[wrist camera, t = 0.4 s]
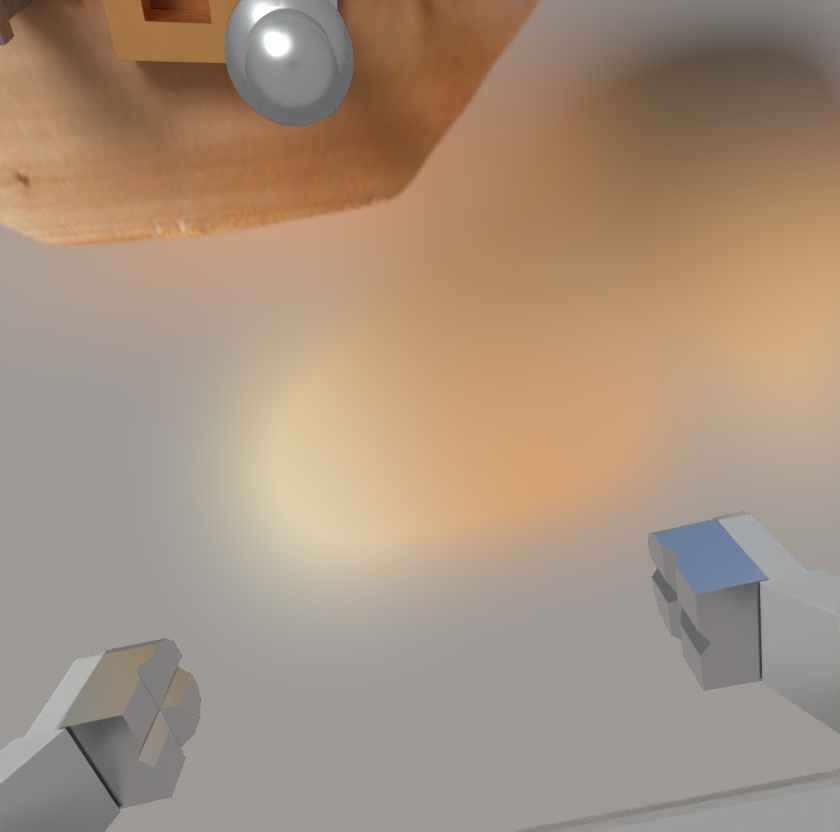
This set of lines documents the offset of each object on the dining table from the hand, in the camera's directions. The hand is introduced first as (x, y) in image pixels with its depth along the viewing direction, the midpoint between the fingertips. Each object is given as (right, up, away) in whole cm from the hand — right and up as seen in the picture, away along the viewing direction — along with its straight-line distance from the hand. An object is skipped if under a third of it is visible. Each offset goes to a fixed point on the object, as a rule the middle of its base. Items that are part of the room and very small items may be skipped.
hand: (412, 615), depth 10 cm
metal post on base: (-14, +36, +35) cm, 52 cm away
